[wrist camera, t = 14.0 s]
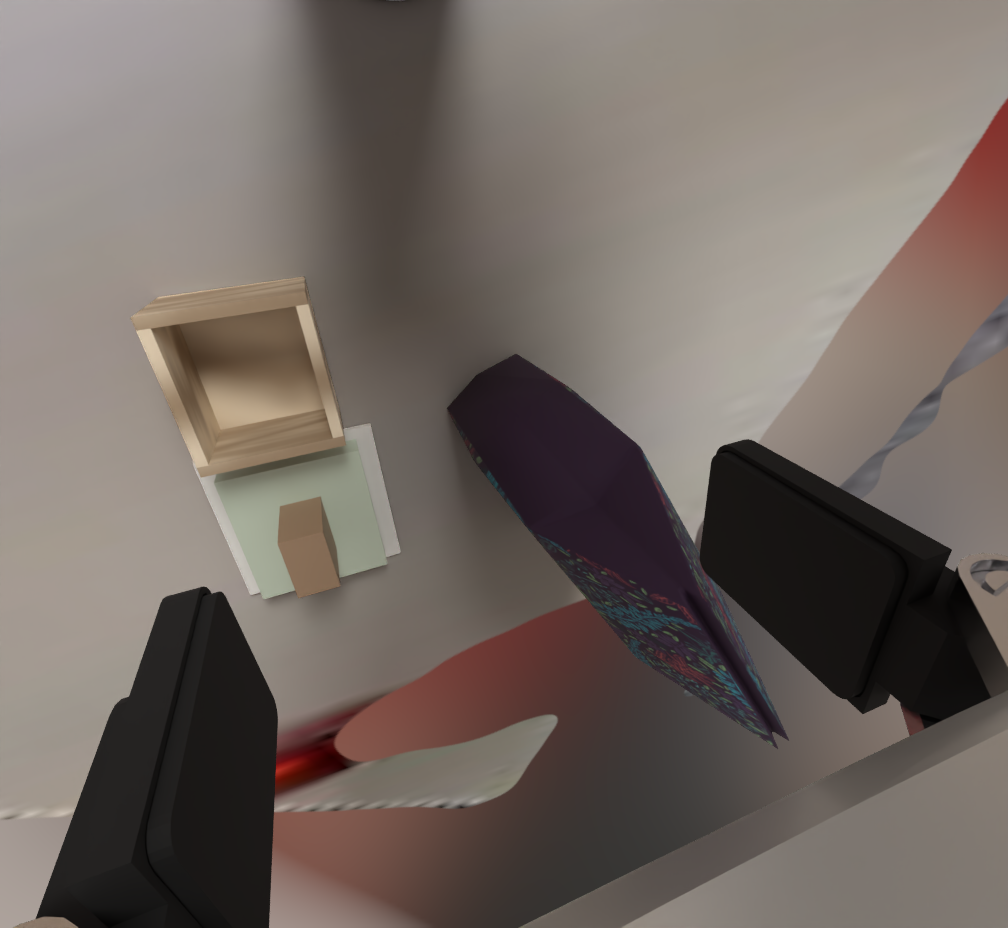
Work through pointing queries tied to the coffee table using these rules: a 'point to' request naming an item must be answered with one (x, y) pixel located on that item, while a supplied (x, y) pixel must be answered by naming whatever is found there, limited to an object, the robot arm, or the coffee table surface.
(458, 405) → the dark patterned coffee bag
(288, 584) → the lid
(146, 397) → the coffee table surface
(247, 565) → the mat
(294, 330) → the box
